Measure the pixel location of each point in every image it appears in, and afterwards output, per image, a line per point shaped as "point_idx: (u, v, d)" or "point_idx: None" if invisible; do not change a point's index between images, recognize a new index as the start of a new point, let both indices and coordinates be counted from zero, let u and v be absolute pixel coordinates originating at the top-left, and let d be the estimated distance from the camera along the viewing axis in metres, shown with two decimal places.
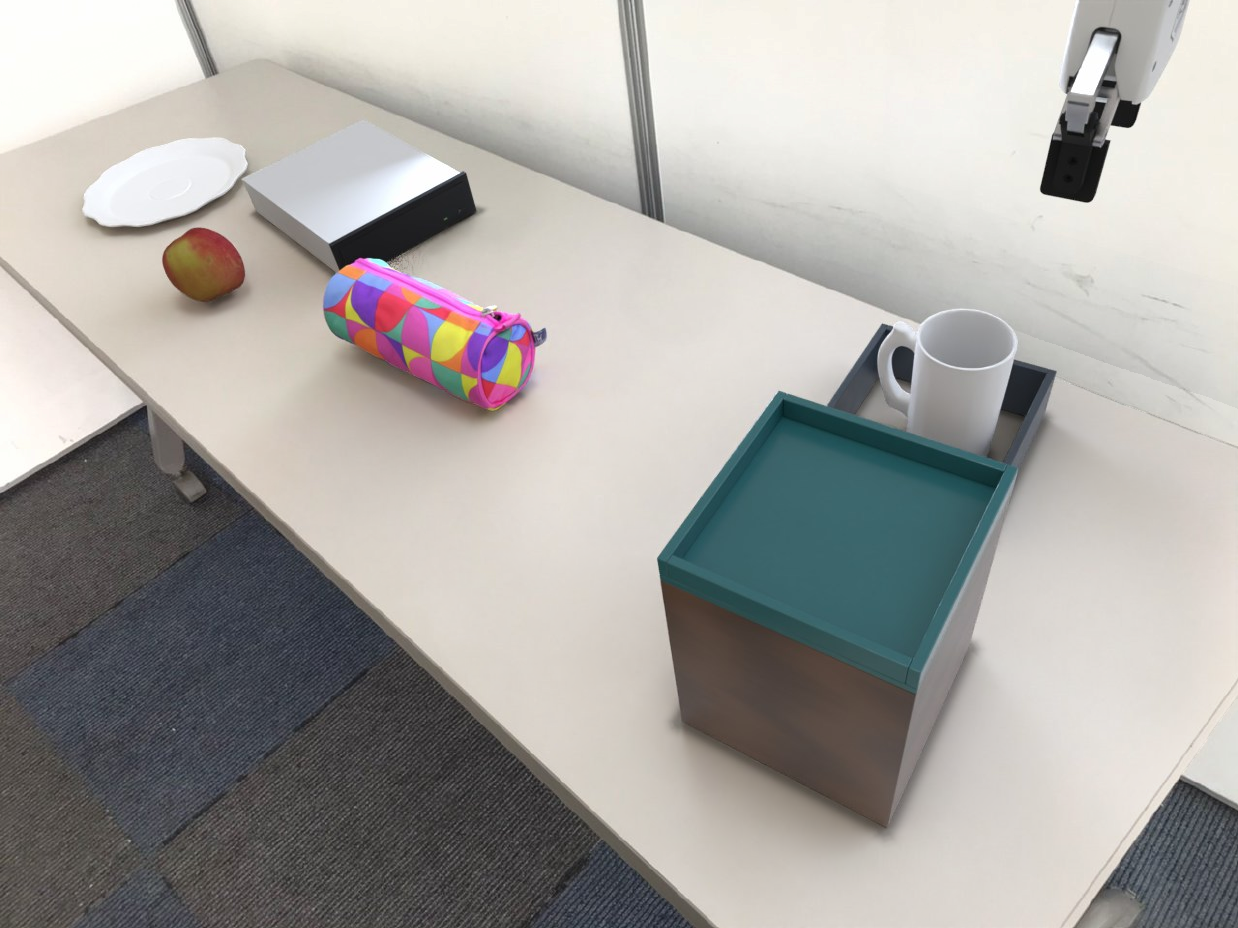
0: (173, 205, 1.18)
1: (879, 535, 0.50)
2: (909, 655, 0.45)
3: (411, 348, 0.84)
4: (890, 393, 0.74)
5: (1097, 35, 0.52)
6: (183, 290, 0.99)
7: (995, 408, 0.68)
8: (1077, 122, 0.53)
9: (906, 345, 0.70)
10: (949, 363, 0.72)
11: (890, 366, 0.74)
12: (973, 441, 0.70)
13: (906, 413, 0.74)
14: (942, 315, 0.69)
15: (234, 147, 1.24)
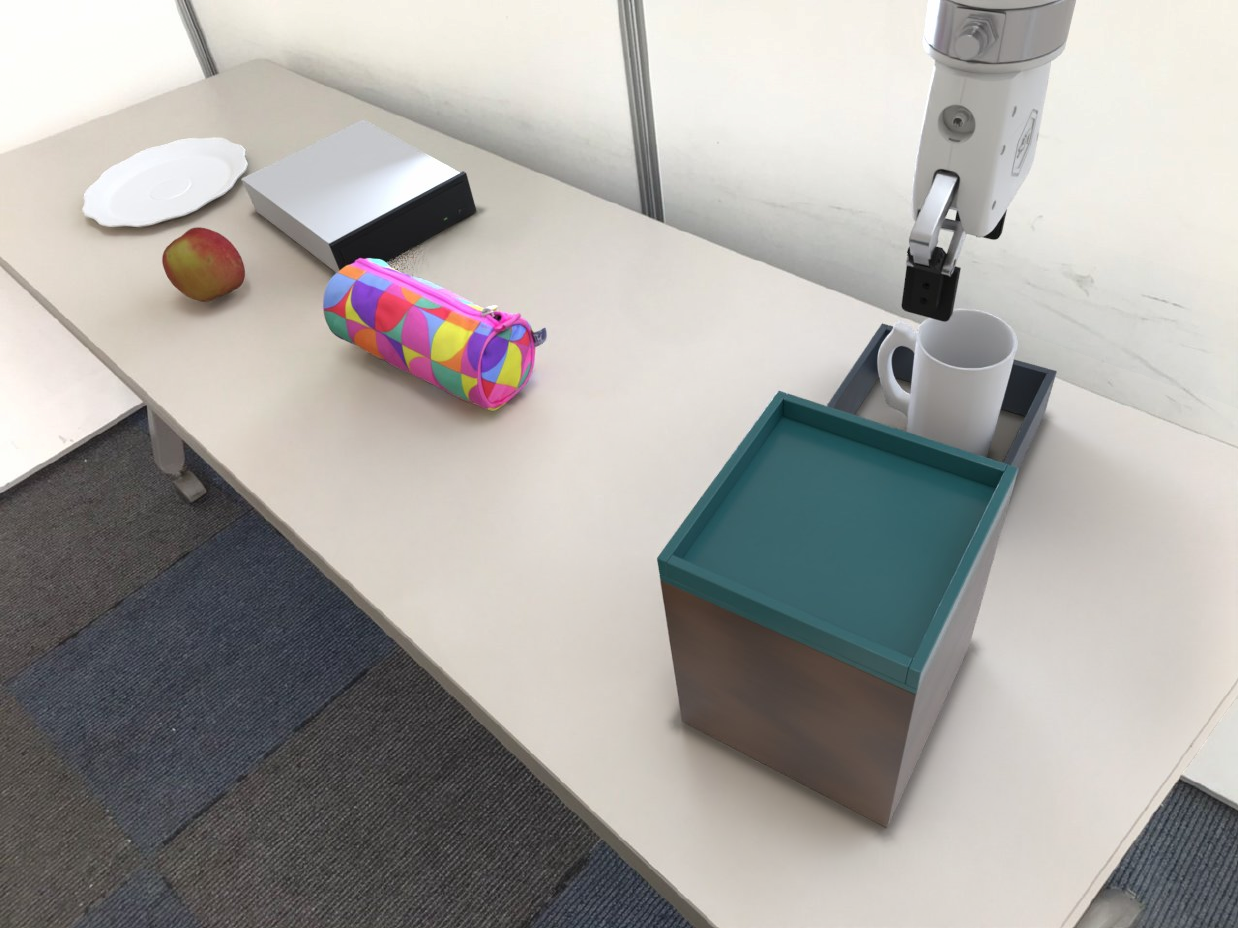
0: (173, 205, 1.18)
1: (879, 535, 0.50)
2: (909, 655, 0.45)
3: (411, 348, 0.84)
4: (890, 393, 0.74)
5: (938, 176, 0.54)
6: (183, 290, 0.99)
7: (995, 408, 0.68)
8: (921, 257, 0.55)
9: (906, 345, 0.70)
10: (949, 363, 0.72)
11: (890, 366, 0.74)
12: (973, 441, 0.70)
13: (906, 413, 0.74)
14: None
15: (234, 147, 1.24)
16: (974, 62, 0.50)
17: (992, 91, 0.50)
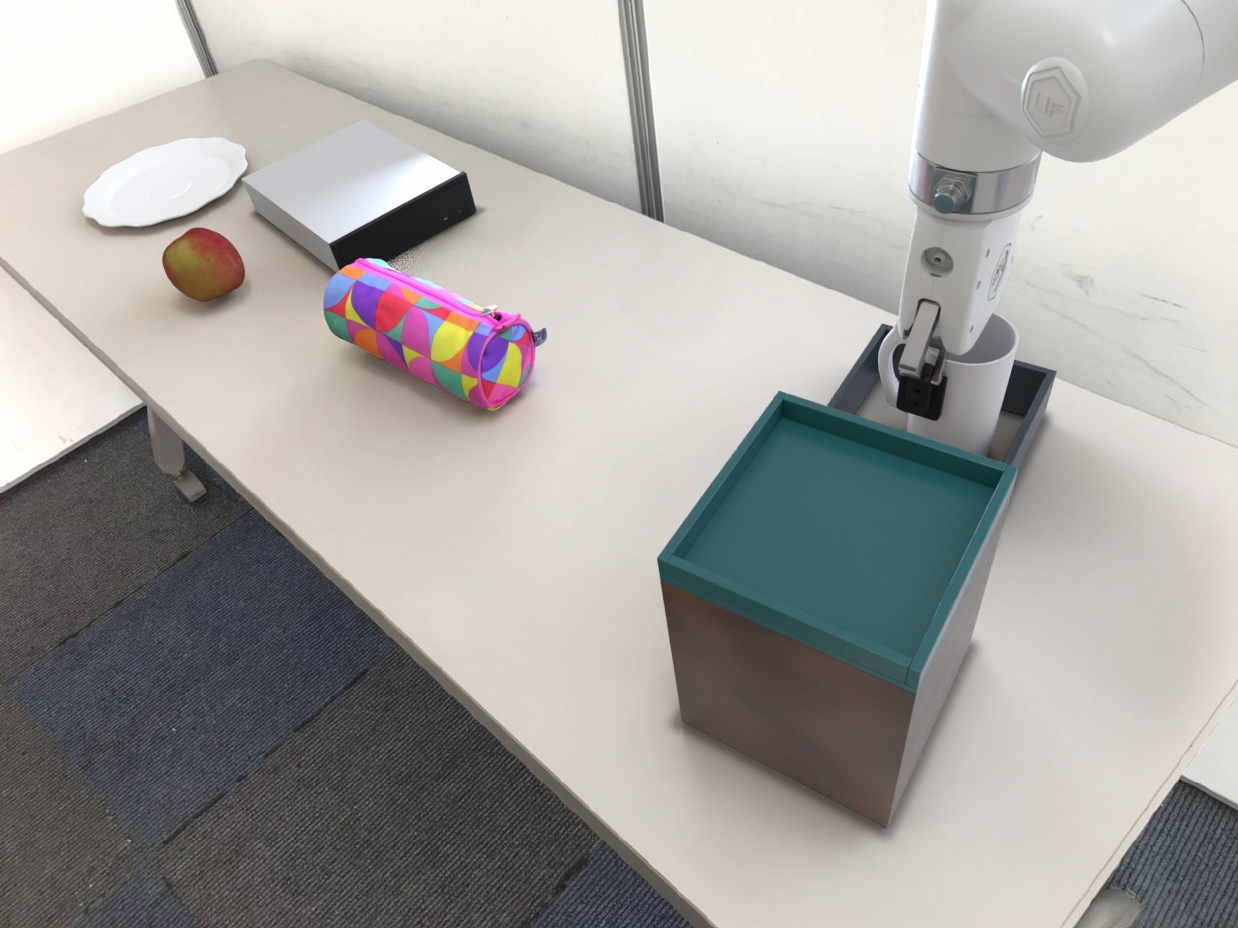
0: (173, 205, 1.18)
1: (879, 535, 0.50)
2: (909, 655, 0.45)
3: (411, 348, 0.84)
4: (891, 391, 0.75)
5: (921, 308, 0.61)
6: (183, 290, 0.99)
7: (996, 405, 0.68)
8: (912, 375, 0.63)
9: None
10: None
11: (891, 364, 0.74)
12: (974, 439, 0.70)
13: (906, 412, 0.74)
14: None
15: (234, 147, 1.24)
16: (952, 212, 0.57)
17: (967, 238, 0.56)
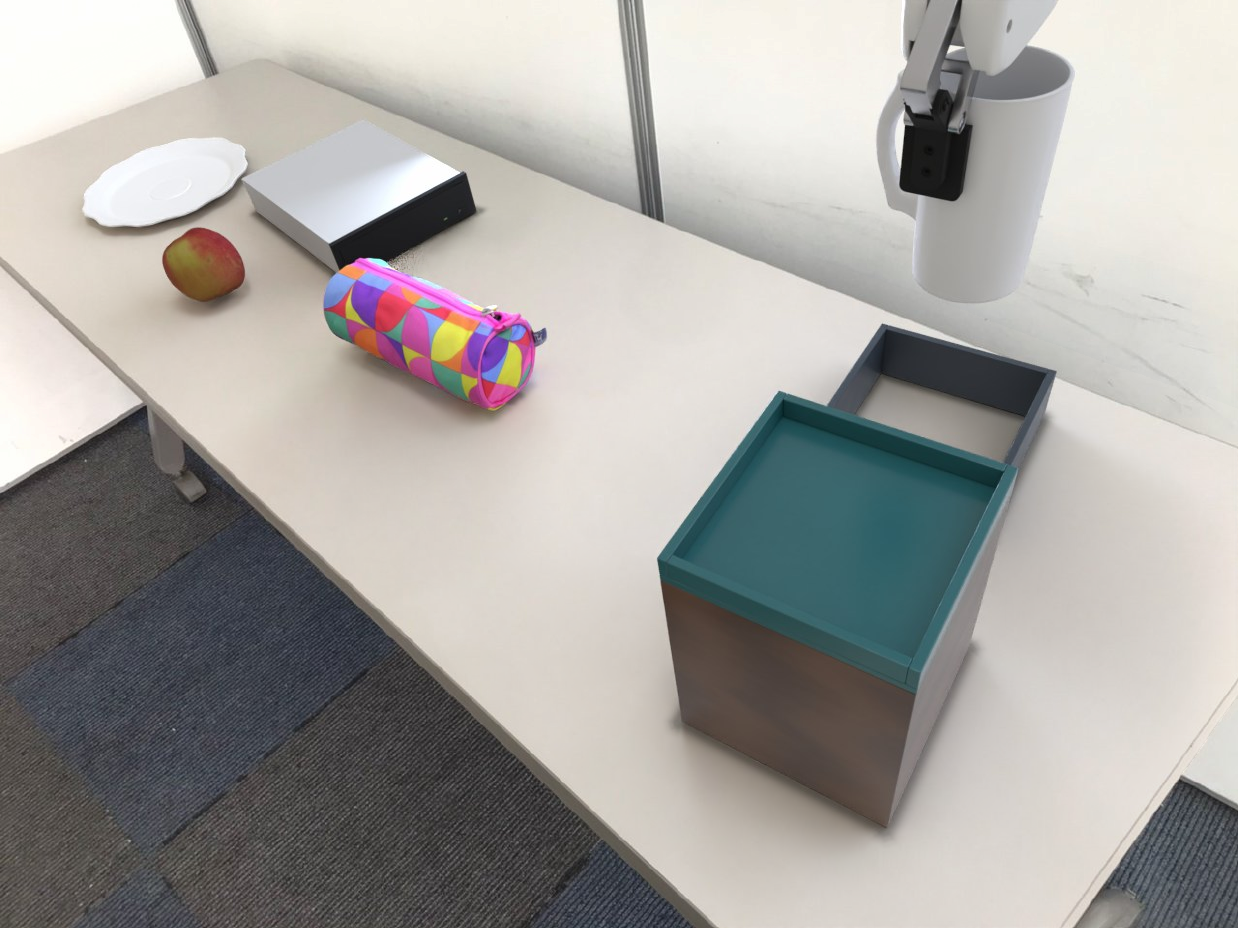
0: (173, 205, 1.18)
1: (879, 535, 0.50)
2: (909, 655, 0.45)
3: (411, 348, 0.84)
4: (893, 187, 0.55)
5: None
6: (183, 290, 0.99)
7: (1040, 179, 0.48)
8: (920, 107, 0.43)
9: None
10: None
11: (893, 146, 0.54)
12: (1008, 233, 0.50)
13: (914, 214, 0.55)
14: None
15: (234, 147, 1.24)
16: None
17: None
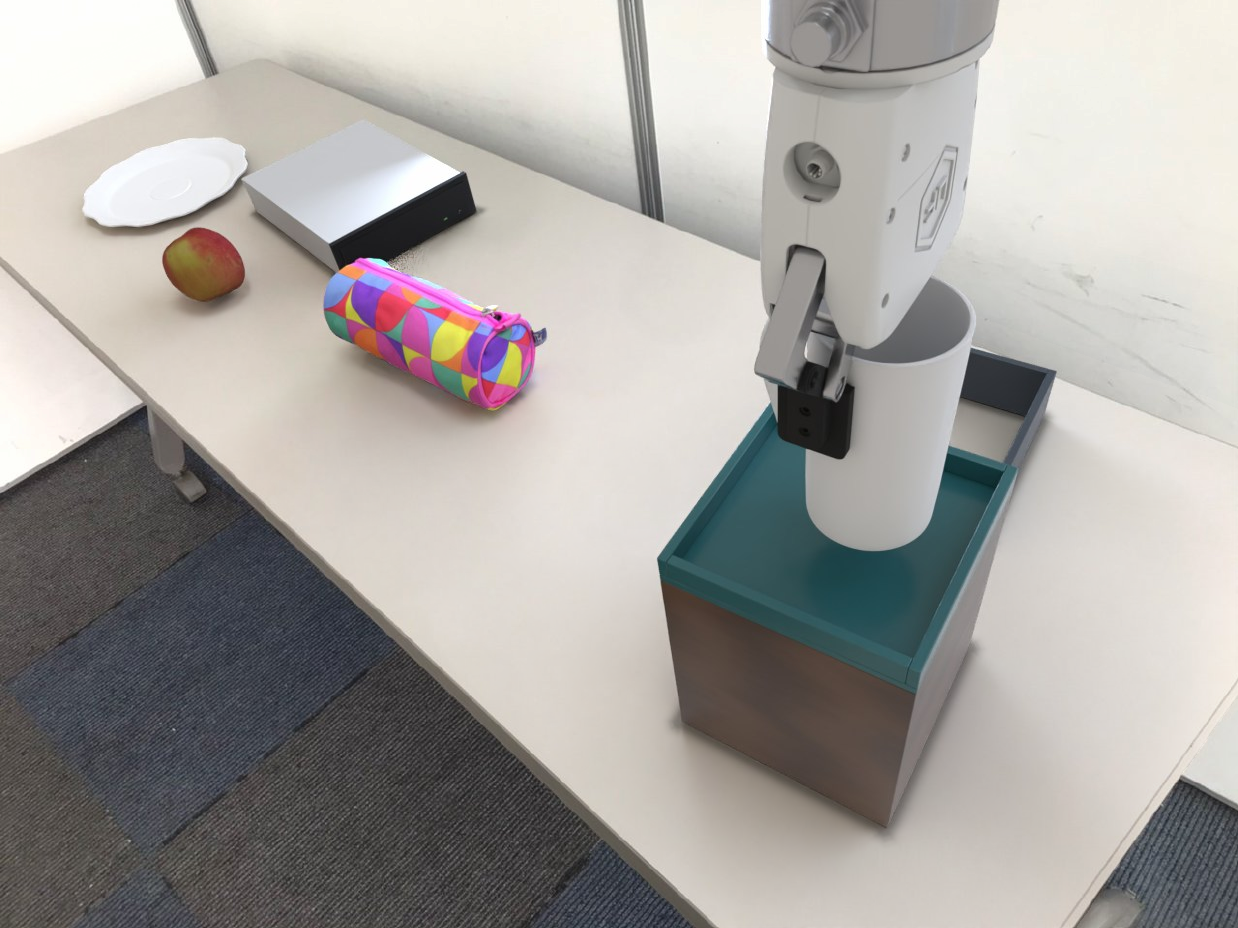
0: (173, 205, 1.18)
1: None
2: (909, 655, 0.45)
3: (411, 348, 0.84)
4: None
5: (794, 263, 0.34)
6: (183, 290, 0.99)
7: (940, 433, 0.41)
8: (783, 385, 0.35)
9: None
10: (871, 360, 0.45)
11: None
12: (906, 487, 0.42)
13: None
14: None
15: (234, 147, 1.24)
16: (834, 70, 0.29)
17: (863, 119, 0.29)
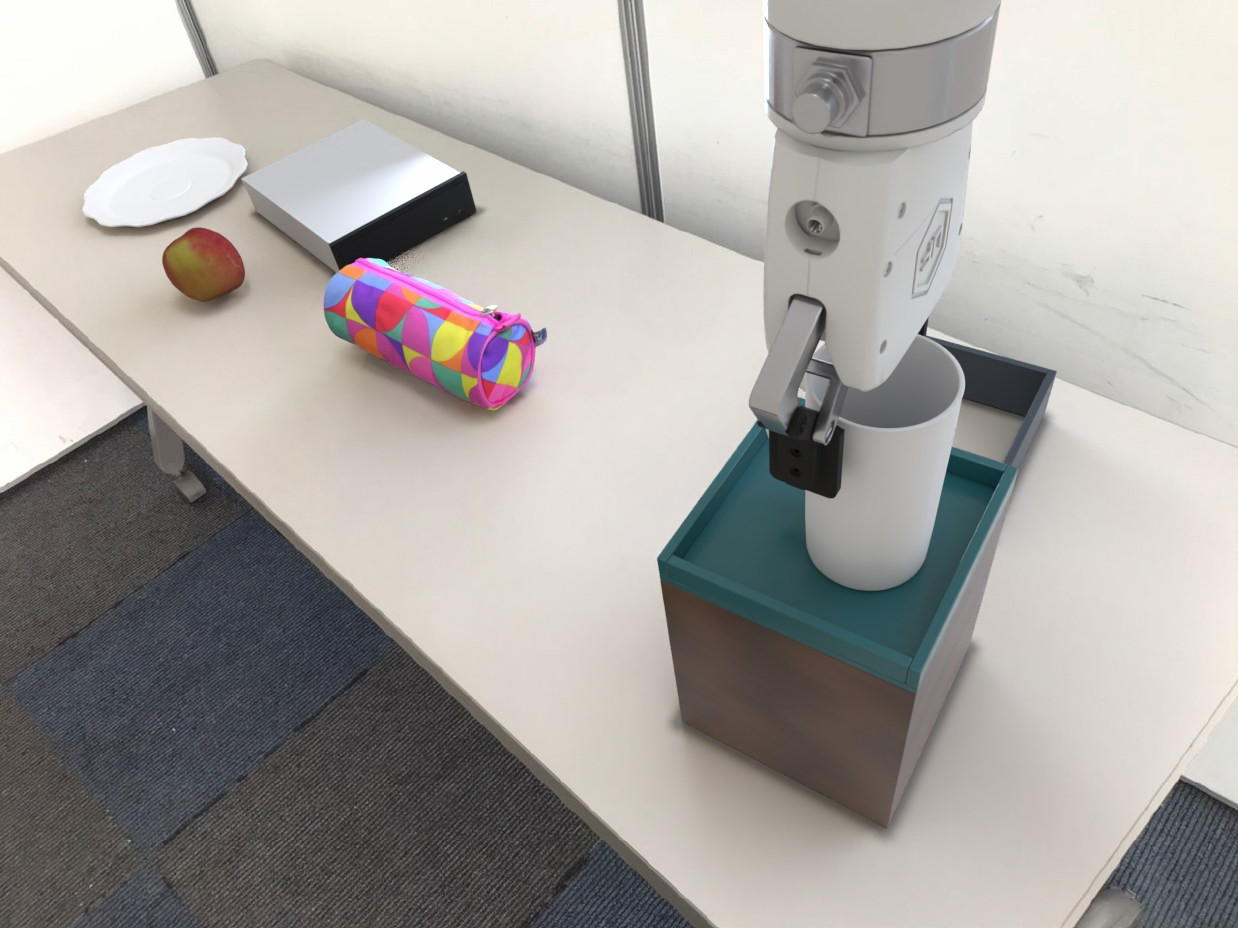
0: (173, 205, 1.18)
1: None
2: (909, 655, 0.45)
3: (411, 348, 0.84)
4: None
5: (794, 304, 0.35)
6: (183, 290, 0.99)
7: (932, 486, 0.43)
8: (774, 425, 0.36)
9: None
10: (867, 410, 0.47)
11: None
12: (900, 535, 0.45)
13: None
14: None
15: (234, 147, 1.24)
16: (833, 134, 0.31)
17: (861, 181, 0.31)
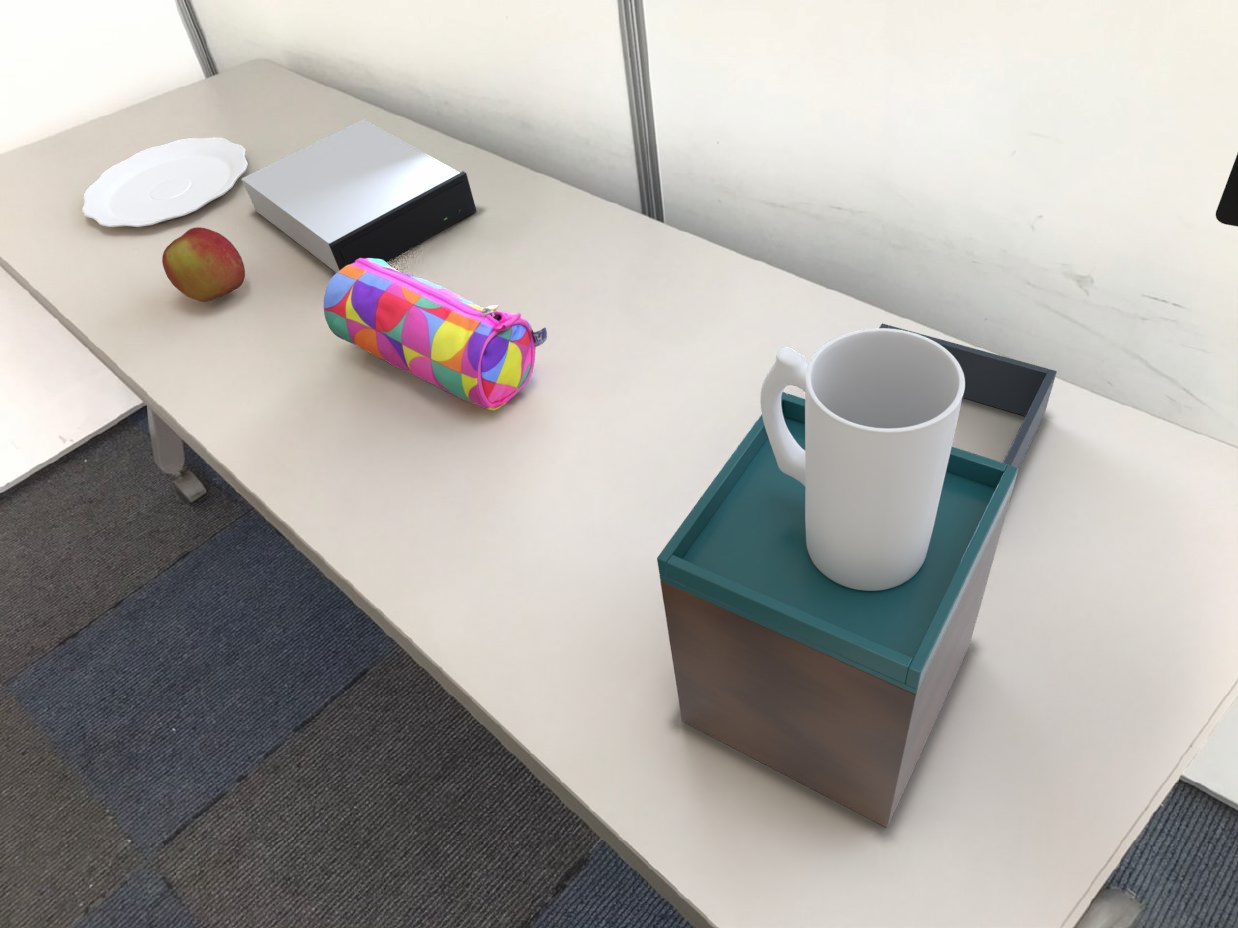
0: (173, 205, 1.18)
1: None
2: (909, 655, 0.45)
3: (411, 348, 0.84)
4: (782, 454, 0.49)
5: None
6: (183, 290, 0.99)
7: (932, 486, 0.43)
8: None
9: (796, 385, 0.45)
10: (867, 410, 0.47)
11: (780, 414, 0.48)
12: (900, 535, 0.45)
13: None
14: (850, 338, 0.44)
15: (234, 147, 1.24)
16: None
17: None
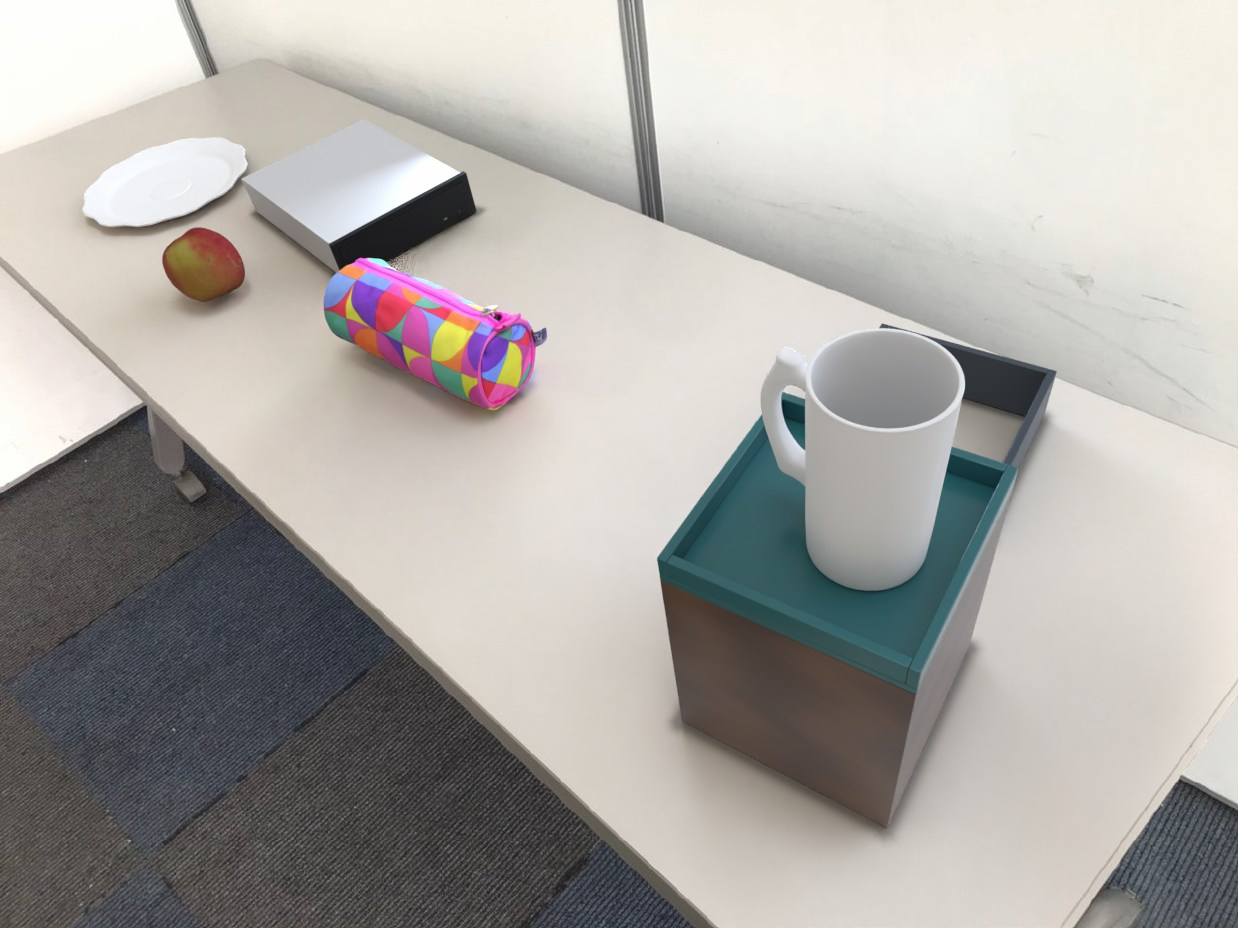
0: (173, 205, 1.18)
1: None
2: (909, 655, 0.45)
3: (411, 348, 0.84)
4: (782, 454, 0.49)
5: None
6: (183, 290, 0.99)
7: (932, 486, 0.43)
8: None
9: (796, 385, 0.45)
10: (867, 410, 0.47)
11: (780, 414, 0.48)
12: (900, 535, 0.45)
13: None
14: (850, 338, 0.44)
15: (234, 147, 1.24)
16: None
17: None
